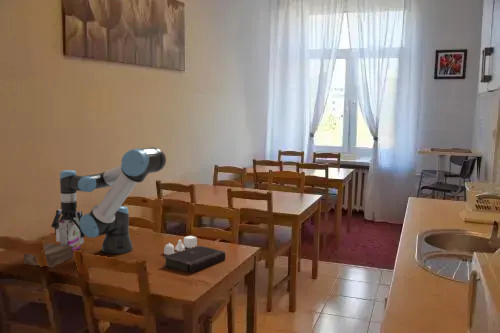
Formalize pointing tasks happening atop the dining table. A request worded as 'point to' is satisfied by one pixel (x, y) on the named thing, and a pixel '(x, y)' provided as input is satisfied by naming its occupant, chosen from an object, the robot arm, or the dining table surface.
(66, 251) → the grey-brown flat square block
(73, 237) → the candy bar box
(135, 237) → the dining table surface
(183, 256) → the diary
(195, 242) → the container set
